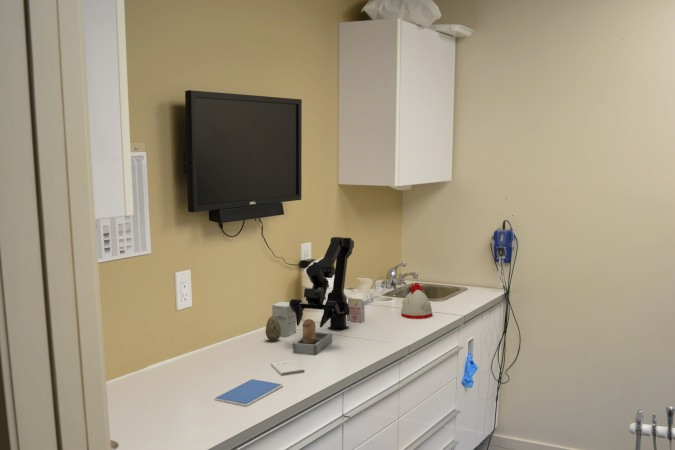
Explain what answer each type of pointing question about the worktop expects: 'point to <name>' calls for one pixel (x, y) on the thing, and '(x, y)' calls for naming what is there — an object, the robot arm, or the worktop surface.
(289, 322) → the supplement box
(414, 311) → the grey beanie hat
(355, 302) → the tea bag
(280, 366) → the external hard drive
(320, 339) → the grey divided tray
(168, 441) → the worktop surface
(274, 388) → the tablet computer
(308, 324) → the dome-topped wooden peg
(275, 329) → the decorative egg
